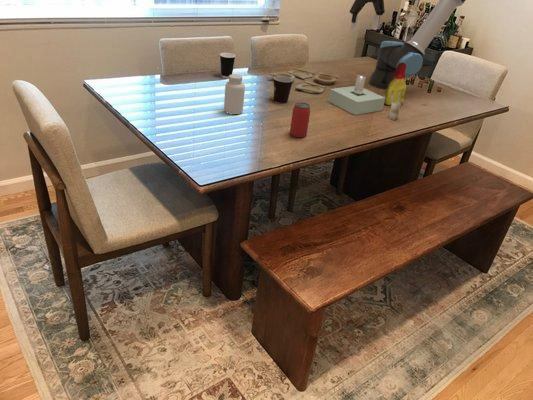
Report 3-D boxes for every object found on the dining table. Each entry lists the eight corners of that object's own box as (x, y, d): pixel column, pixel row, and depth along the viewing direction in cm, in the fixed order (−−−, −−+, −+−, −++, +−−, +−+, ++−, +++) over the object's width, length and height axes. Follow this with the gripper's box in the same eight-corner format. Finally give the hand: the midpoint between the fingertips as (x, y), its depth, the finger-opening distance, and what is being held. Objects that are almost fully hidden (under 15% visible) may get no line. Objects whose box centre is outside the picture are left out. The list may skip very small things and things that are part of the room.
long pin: (355, 103, 206) (361, 74, 199) (361, 106, 204) (367, 77, 196) (349, 104, 204) (355, 75, 197) (355, 107, 202) (361, 77, 194)
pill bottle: (228, 116, 177) (230, 79, 169) (220, 108, 183) (222, 73, 175) (246, 114, 180) (249, 78, 172) (238, 107, 186) (240, 72, 178)
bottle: (387, 107, 207) (398, 65, 196) (378, 102, 212) (388, 61, 201) (405, 105, 213) (416, 63, 202) (395, 100, 217) (406, 60, 207)
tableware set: (315, 97, 210) (316, 89, 207) (263, 82, 221) (264, 74, 219) (343, 82, 236) (344, 75, 234) (296, 70, 247) (297, 62, 245)
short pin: (392, 116, 197) (396, 101, 194) (398, 119, 195) (402, 104, 191) (386, 117, 195) (390, 102, 192) (392, 120, 193) (396, 105, 189)
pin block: (355, 97, 215) (358, 85, 211) (382, 110, 202) (385, 97, 199) (328, 101, 205) (330, 88, 202) (354, 115, 193) (357, 102, 190)
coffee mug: (288, 105, 195) (291, 83, 190) (269, 102, 196) (272, 80, 191) (292, 97, 205) (295, 76, 200) (274, 94, 206) (276, 73, 201)
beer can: (288, 130, 170) (292, 101, 164) (304, 131, 171) (309, 102, 165) (290, 137, 165) (295, 107, 159) (307, 138, 166) (312, 108, 159)
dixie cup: (215, 76, 220) (216, 54, 214) (224, 73, 226) (225, 51, 220) (228, 80, 217) (229, 58, 211) (237, 77, 223) (238, 55, 217)
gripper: (387, -21, 200) (376, 27, 211) (347, -24, 187) (338, 28, 198) (399, -19, 195) (387, 31, 206) (360, -21, 182) (349, 32, 193)
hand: (363, 29), depth 202 cm, fingers open, 13 cm apart
